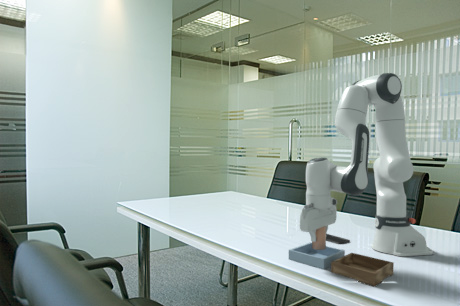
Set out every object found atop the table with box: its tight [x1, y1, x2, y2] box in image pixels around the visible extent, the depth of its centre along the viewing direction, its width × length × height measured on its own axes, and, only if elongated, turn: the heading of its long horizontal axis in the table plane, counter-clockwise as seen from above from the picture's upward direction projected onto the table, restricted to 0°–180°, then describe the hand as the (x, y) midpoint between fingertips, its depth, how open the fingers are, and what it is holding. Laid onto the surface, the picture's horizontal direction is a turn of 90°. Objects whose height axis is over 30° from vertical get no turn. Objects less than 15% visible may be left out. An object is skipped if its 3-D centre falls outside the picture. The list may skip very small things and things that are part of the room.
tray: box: [330, 252, 395, 287], centre depth 116 cm, size 15×15×4 cm
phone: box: [326, 233, 351, 245], centre depth 159 cm, size 8×1×15 cm
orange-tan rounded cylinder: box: [311, 226, 327, 250], centre depth 129 cm, size 5×5×8 cm
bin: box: [288, 241, 346, 270], centre depth 129 cm, size 15×15×4 cm
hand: (318, 239), depth 129 cm, fingers closed on orange-tan rounded cylinder, 5 cm apart
